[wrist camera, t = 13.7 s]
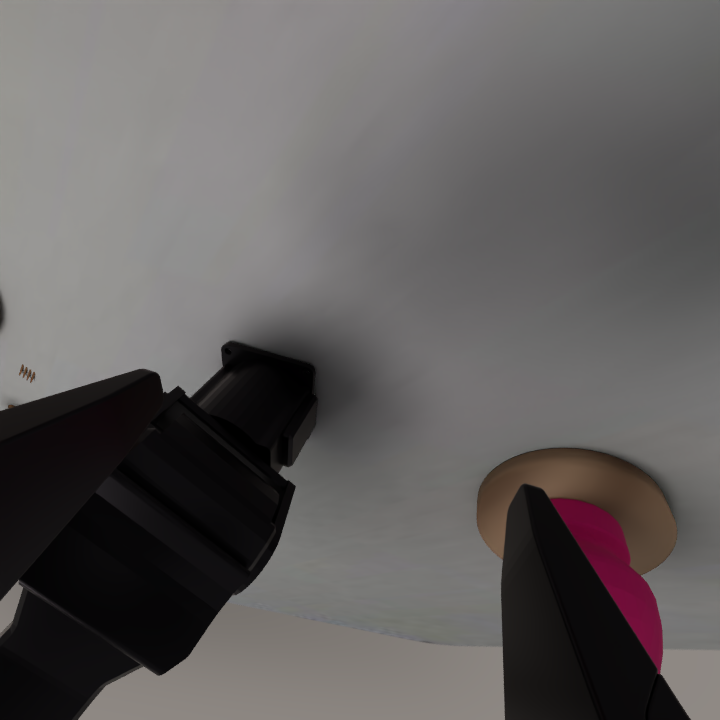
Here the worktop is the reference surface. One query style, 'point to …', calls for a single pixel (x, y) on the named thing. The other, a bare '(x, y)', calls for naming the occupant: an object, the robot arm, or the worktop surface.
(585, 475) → the walnut base
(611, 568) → the pepper mill
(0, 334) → the worktop surface
